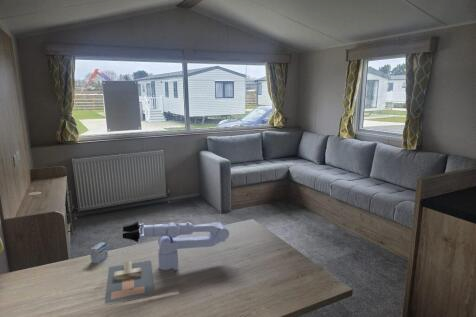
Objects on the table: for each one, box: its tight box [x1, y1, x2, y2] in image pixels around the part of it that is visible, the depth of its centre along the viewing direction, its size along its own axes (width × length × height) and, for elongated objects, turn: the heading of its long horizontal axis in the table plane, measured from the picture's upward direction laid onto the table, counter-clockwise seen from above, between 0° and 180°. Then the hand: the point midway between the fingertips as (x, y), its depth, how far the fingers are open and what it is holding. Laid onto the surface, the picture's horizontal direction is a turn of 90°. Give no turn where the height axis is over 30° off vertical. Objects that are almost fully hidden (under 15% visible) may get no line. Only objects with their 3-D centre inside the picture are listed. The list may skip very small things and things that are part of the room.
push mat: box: [104, 260, 156, 306], centre depth 143 cm, size 20×29×1 cm
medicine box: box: [89, 241, 109, 264], centre depth 160 cm, size 8×4×9 cm, turn 168°
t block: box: [114, 260, 142, 281], centre depth 149 cm, size 12×12×2 cm
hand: (122, 232), depth 145 cm, fingers open, 7 cm apart
